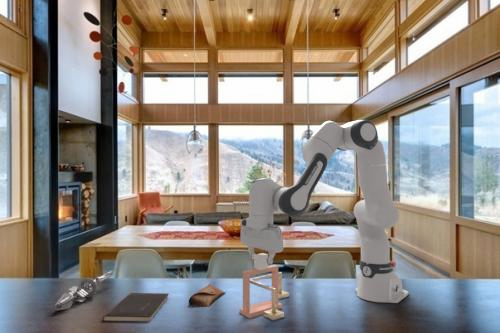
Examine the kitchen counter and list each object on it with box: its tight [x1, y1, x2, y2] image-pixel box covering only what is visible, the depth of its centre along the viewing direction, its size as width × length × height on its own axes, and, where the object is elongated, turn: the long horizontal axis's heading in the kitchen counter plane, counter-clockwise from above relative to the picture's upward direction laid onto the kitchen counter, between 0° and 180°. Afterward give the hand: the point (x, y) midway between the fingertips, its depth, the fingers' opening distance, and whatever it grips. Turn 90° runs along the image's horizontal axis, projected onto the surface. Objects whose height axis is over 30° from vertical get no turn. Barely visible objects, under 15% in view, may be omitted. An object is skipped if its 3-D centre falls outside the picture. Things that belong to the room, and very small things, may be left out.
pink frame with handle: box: [238, 252, 283, 319], centre depth 126 cm, size 6×15×20 cm, turn 128°
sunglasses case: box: [188, 283, 226, 308], centre depth 138 cm, size 18×7×7 cm
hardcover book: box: [102, 292, 170, 322], centre depth 128 cm, size 16×23×2 cm
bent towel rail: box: [250, 271, 290, 321], centre depth 131 cm, size 21×19×10 cm
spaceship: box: [53, 269, 115, 311], centre depth 139 cm, size 8×35×8 cm
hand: (261, 261), depth 127 cm, fingers open, 8 cm apart
